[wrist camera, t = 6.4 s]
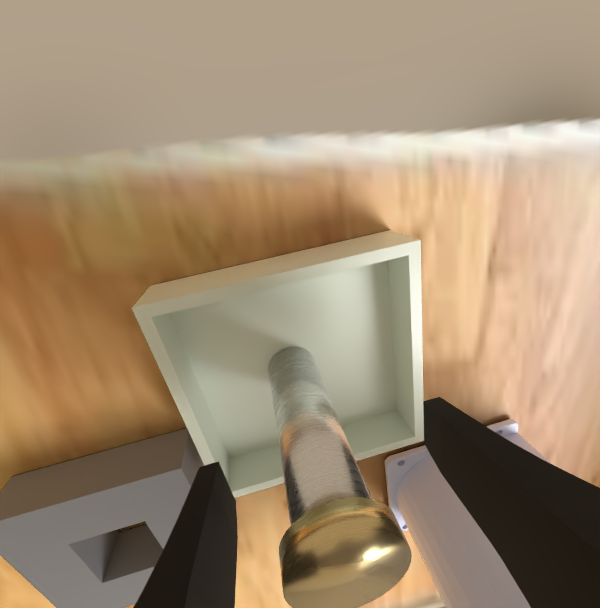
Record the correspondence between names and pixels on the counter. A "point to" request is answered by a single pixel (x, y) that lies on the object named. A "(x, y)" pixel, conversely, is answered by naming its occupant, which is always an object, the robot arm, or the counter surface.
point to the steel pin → (327, 499)
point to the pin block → (97, 520)
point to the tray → (293, 332)
